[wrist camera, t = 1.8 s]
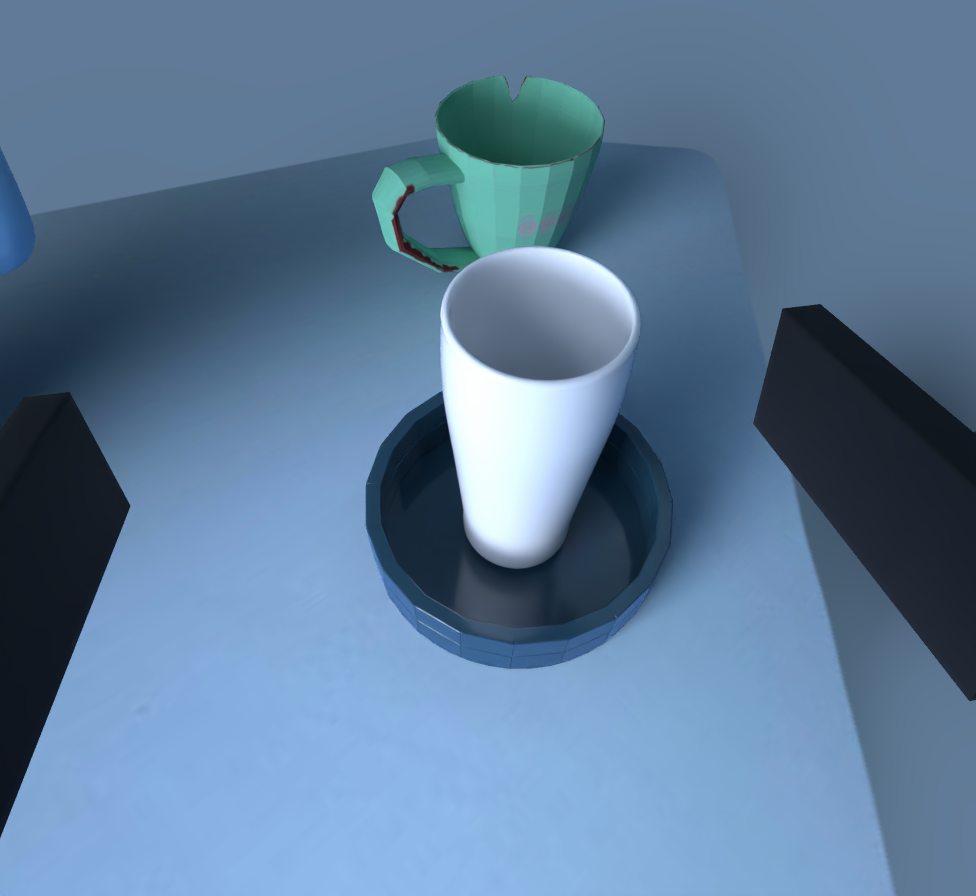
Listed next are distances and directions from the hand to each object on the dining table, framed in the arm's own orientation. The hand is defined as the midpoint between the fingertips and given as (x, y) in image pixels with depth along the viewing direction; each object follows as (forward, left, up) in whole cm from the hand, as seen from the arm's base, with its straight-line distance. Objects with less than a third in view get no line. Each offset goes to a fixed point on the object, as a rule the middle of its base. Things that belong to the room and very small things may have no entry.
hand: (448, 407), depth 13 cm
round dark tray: (-4, +7, -20) cm, 22 cm away
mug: (-20, +19, -21) cm, 35 cm away
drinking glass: (-4, +7, -20) cm, 22 cm away
